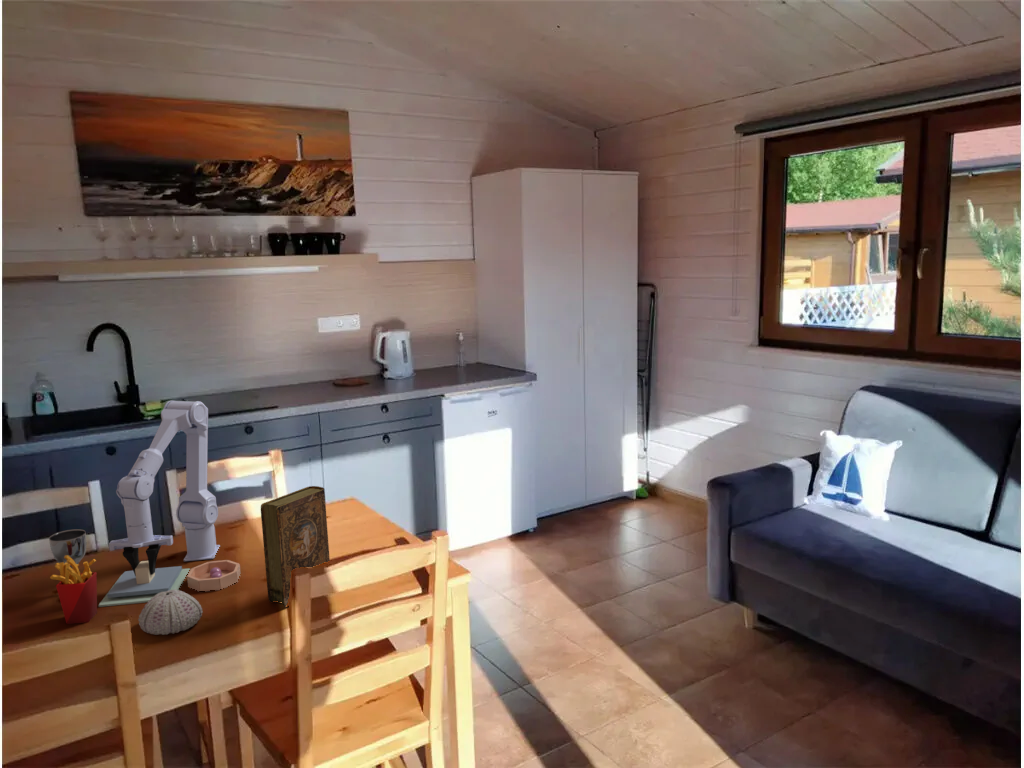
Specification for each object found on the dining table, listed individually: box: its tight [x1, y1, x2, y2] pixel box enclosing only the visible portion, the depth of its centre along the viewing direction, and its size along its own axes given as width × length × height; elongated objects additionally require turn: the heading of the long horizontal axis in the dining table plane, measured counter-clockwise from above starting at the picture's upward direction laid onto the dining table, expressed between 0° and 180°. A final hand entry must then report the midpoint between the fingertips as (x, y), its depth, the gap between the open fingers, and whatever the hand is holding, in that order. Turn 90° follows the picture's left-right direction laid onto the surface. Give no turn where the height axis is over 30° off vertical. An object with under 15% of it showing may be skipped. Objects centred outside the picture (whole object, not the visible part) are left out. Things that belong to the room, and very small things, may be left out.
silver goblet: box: [48, 528, 87, 569], centre depth 195 cm, size 8×8×15 cm
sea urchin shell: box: [137, 589, 204, 636], centre depth 176 cm, size 13×14×8 cm
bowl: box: [186, 559, 241, 592], centre depth 200 cm, size 12×12×3 cm
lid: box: [106, 560, 183, 598], centre depth 196 cm, size 14×14×5 cm
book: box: [260, 485, 331, 608], centre depth 189 cm, size 16×6×25 cm, turn 148°
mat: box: [97, 568, 191, 608], centre depth 197 cm, size 18×17×1 cm
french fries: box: [49, 555, 98, 625], centre depth 179 cm, size 9×8×15 cm
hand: (145, 573), depth 196 cm, fingers closed on lid, 3 cm apart
